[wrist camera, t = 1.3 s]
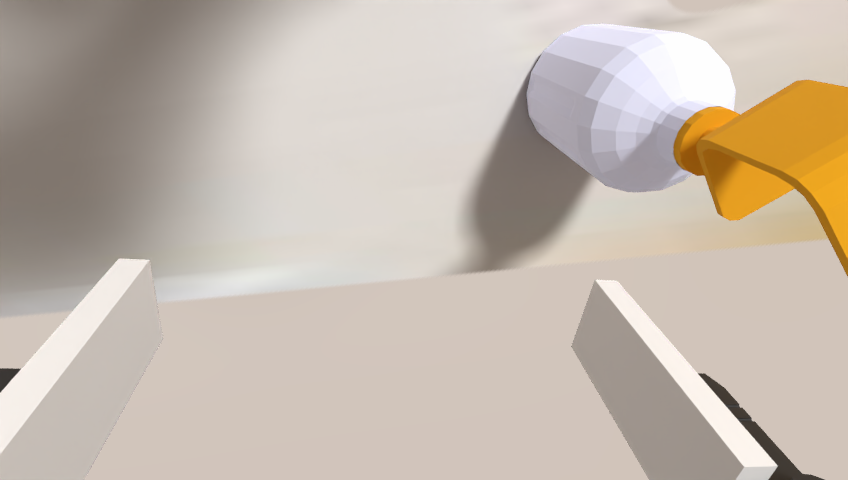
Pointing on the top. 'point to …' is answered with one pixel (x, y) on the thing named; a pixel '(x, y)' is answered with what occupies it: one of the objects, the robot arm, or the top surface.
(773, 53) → the top surface
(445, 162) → the top surface
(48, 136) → the top surface
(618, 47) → the soap bottle
